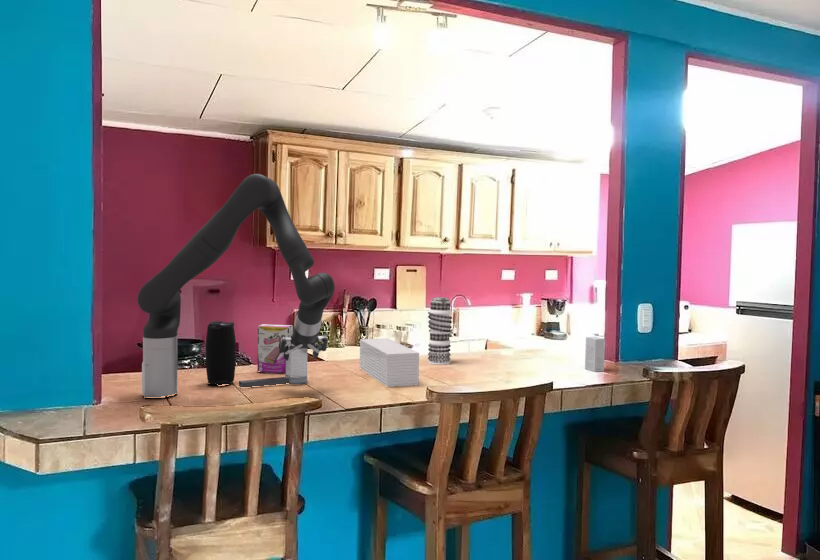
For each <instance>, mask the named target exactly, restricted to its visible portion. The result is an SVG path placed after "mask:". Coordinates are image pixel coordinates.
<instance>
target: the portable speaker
mask: <svg viewBox="0 0 820 560" xmlns="http://www.w3.org/2000/svg"><path fill="white" fill-rule="evenodd" d="M205 338H206V339H205V368H206V379H207V384H208V383H211V384H215V385H216V386H217V384H218V385H222V384H230V383H231V382H232V381H233V382H234V381H235V372H236V364H237V357H236V356H237V354H236V353H237V350H236V349H237V347H236V346H237V345H236V344H237V343H236V333H235V324H234V322H233V321H230V322H227V321H220V320H219V321H218V320H216V321H215V320H214V321H210V322H209V323H208V325H207V329H206V337H205ZM233 382H232V383H233ZM232 383H231V384H232ZM231 384H230V385H231Z"/></svg>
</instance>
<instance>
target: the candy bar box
mask: <svg viewBox="0 0 820 560" xmlns="http://www.w3.org/2000/svg"><path fill="white" fill-rule="evenodd" d="M293 329H294V325H290V324H269V323H268V324H266V323H263V324H259V325H258V326H257V372H258V371H260V372H268V373H267V374H281V373H285V375H286V359H284V356H283V353H284V352H283V353H279V342H280V338H281V336H282V335H285V337H291V336H292V334H293Z"/></svg>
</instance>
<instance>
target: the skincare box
mask: <svg viewBox="0 0 820 560" xmlns="http://www.w3.org/2000/svg"><path fill="white" fill-rule="evenodd" d="M605 345H606V343H605V338H603V337H602V338H601V337H597V336H586V337H585V354H584V355H585V356H584V357H585V359H584V369H585V370H588V371H591V372H597V373H598V372H604V371H605Z"/></svg>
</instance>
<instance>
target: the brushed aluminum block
mask: <svg viewBox="0 0 820 560" xmlns="http://www.w3.org/2000/svg"><path fill="white" fill-rule="evenodd" d="M288 343H289V342H288ZM288 343H287V344H288ZM289 348H290V347H289ZM285 375H288V376H289V377H290V378H292V377H305V376H307V377H308V348H301V349H297V350H295V351H294V352H293V351H292V352H290V353H289V359H288V360H287V361H286V374H285Z"/></svg>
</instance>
